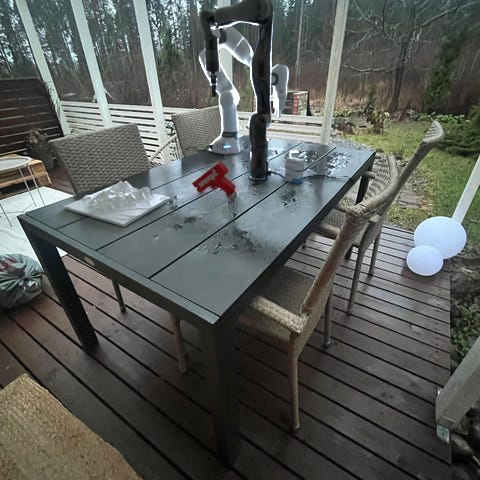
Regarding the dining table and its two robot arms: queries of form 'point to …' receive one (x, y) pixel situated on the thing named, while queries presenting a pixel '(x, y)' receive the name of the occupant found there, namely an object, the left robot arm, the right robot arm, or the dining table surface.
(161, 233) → the dining table surface
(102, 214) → the relief map
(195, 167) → the dining table surface
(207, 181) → the toy gun
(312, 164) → the dining table surface
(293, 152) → the block
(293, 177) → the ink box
